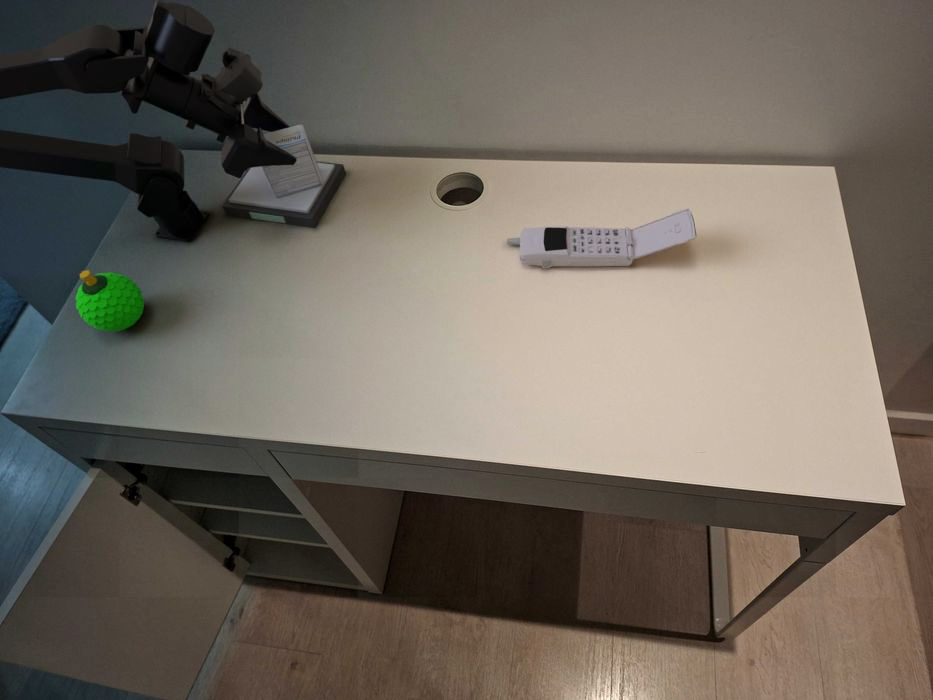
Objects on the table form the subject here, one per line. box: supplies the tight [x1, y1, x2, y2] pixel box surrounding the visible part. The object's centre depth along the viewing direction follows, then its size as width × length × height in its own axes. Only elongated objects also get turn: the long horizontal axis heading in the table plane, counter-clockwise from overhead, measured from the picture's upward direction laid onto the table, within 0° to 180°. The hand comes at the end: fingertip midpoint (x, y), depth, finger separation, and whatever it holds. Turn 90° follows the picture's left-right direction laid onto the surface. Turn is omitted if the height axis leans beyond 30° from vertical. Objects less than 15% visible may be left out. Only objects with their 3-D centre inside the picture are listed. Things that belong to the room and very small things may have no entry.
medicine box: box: [261, 123, 323, 198], centre depth 92 cm, size 8×4×9 cm, turn 108°
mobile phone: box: [506, 208, 697, 269], centre depth 82 cm, size 6×6×25 cm
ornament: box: [75, 269, 145, 333], centre depth 82 cm, size 8×8×10 cm
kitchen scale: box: [221, 160, 347, 229], centre depth 97 cm, size 16×13×3 cm
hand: (293, 146), depth 90 cm, fingers open, 7 cm apart
